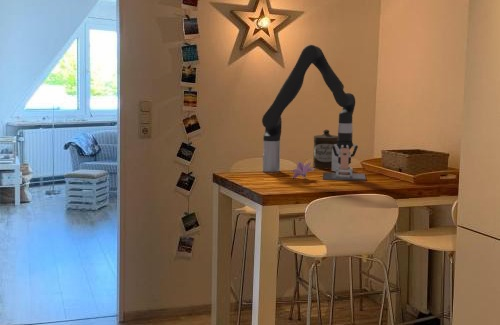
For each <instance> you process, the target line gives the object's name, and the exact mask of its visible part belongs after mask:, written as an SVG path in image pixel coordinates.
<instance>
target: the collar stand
mask: <svg viewBox="0 0 500 325" xmlns="http://www.w3.org/2000/svg"><path fill="white" fill-rule="evenodd" d="M340 172H348V175H340ZM353 172H354V170H353V166H348V170H347V169H340V167H336V172H323V173H322V180H324V181H325V180H326V181H353V182H354V181H358V182H359V181H361V182H362V181H363V182H365V181H367V178H366V175H365V173H353Z"/></svg>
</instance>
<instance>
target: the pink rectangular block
mask: <svg viewBox="0 0 500 325" xmlns="http://www.w3.org/2000/svg"><path fill="white" fill-rule="evenodd" d="M348 161H349V148H341V164H340V169H347V170H349V169H348V167H349V166H348ZM340 175H348V172H340Z"/></svg>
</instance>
